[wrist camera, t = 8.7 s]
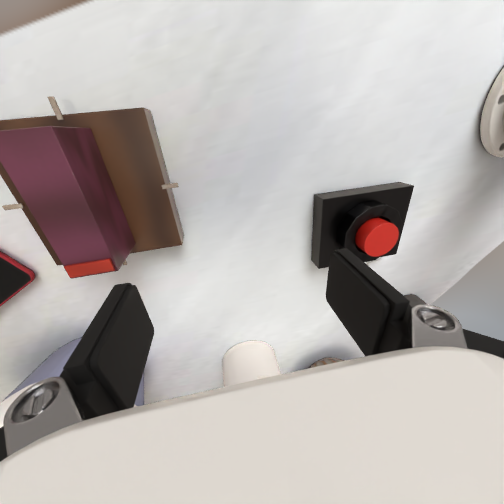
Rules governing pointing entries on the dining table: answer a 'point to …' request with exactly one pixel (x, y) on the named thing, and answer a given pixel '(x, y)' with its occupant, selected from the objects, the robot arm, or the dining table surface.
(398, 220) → the button block
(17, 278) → the smartphone
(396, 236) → the button
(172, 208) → the panel
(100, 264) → the bar
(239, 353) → the base with upright slab
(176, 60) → the dining table surface
